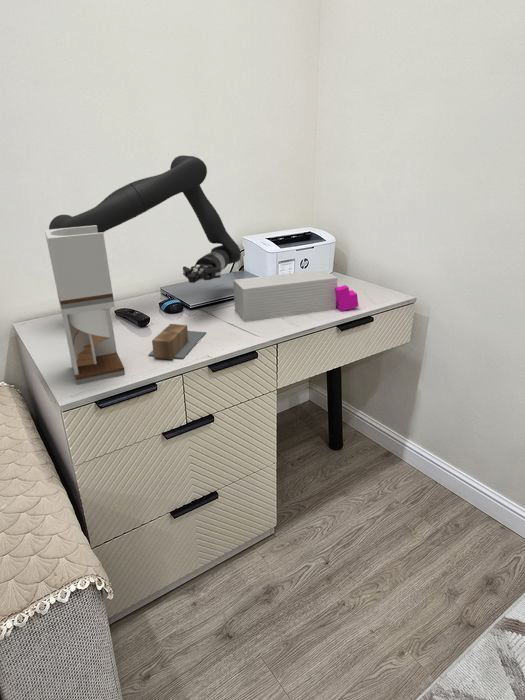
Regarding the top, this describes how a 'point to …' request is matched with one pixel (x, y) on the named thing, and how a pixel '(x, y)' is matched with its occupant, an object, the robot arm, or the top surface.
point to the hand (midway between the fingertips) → (191, 279)
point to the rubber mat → (193, 339)
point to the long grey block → (284, 295)
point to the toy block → (345, 298)
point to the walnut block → (170, 341)
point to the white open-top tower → (85, 301)
